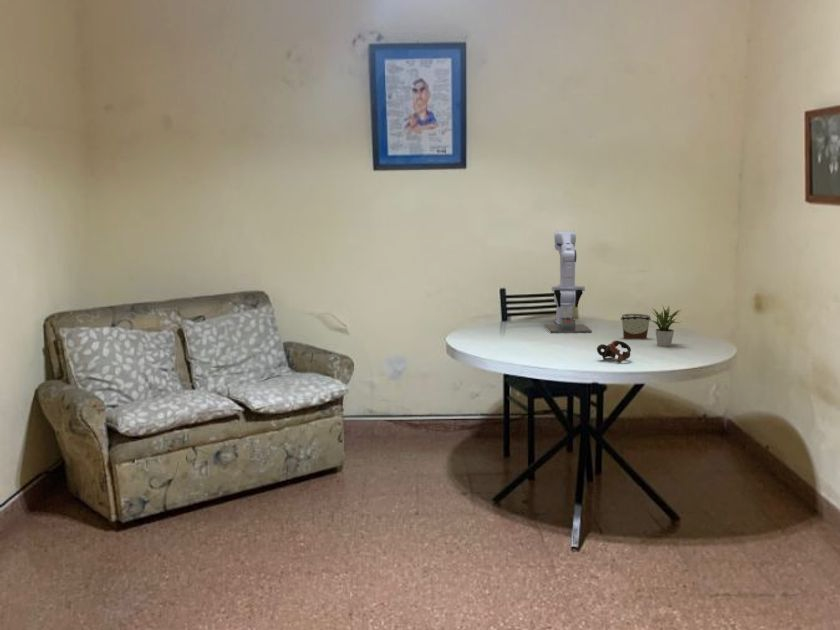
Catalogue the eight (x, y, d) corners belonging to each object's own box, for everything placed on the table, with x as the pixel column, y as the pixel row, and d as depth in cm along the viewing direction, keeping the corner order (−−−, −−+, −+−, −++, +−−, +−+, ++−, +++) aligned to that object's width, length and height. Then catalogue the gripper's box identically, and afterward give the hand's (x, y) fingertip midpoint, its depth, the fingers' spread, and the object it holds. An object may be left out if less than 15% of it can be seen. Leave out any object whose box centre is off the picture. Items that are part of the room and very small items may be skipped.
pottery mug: (620, 358, 278) (630, 341, 273) (626, 374, 270) (635, 357, 266) (590, 350, 276) (599, 333, 272) (595, 367, 268) (604, 349, 264)
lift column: (563, 326, 339) (563, 308, 337) (570, 326, 339) (570, 308, 337) (564, 327, 335) (564, 309, 334) (571, 327, 335) (572, 309, 334)
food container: (647, 336, 318) (648, 313, 316) (650, 339, 312) (651, 315, 310) (617, 336, 319) (618, 313, 317) (620, 339, 313) (620, 315, 311)
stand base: (544, 326, 346) (544, 314, 345) (583, 326, 346) (583, 314, 345) (550, 333, 328) (550, 320, 328) (591, 332, 328) (591, 320, 327)
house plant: (689, 349, 290) (691, 307, 287) (653, 349, 291) (654, 307, 288) (679, 342, 304) (680, 302, 302) (644, 342, 305) (646, 303, 302)
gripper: (553, 277, 330) (553, 308, 332) (586, 277, 330) (585, 308, 332) (551, 276, 337) (550, 306, 339) (583, 276, 337) (582, 305, 339)
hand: (567, 306), depth 336 cm, fingers open, 7 cm apart
